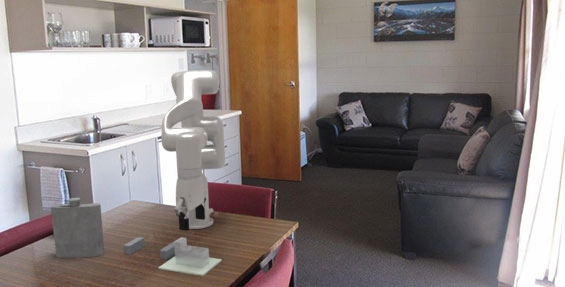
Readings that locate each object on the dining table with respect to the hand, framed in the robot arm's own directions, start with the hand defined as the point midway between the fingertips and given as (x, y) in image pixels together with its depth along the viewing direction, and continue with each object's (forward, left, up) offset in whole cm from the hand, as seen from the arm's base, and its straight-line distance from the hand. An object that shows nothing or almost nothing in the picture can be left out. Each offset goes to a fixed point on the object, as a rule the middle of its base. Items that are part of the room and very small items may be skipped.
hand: (192, 224), depth 159 cm
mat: (+1, -1, -13) cm, 13 cm away
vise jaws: (-4, -19, -13) cm, 24 cm away
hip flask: (+6, -41, -14) cm, 44 cm away
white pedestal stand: (+1, 0, -13) cm, 13 cm away
